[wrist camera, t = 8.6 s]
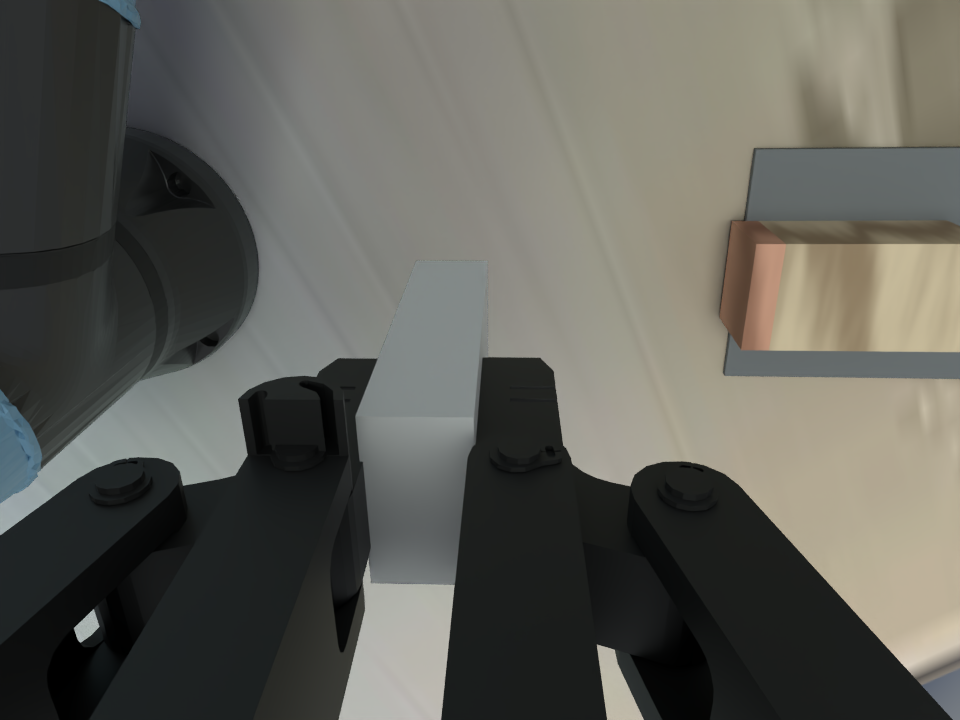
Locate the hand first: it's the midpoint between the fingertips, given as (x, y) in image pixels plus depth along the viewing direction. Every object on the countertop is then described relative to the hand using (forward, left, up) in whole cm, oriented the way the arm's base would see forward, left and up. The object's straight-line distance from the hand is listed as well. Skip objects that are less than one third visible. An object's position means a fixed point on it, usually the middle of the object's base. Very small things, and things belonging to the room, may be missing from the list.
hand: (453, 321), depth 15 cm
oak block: (+13, -8, -25) cm, 30 cm away
